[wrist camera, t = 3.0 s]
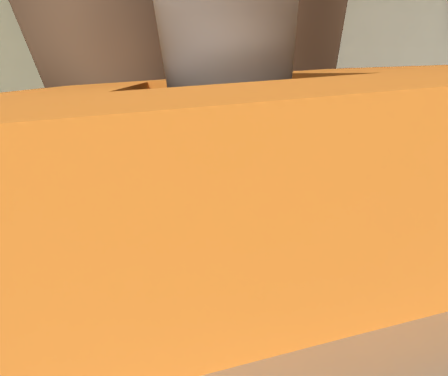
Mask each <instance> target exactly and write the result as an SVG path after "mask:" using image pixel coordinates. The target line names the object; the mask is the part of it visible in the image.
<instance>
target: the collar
mask: <svg viewBox="0 0 448 376" xmlns="http://www.w3.org/2000/svg"><path fill="white" fill-rule="evenodd" d="M444 312H448V65H432V66H403V67H373V68H343V69H319V70H303V71H293V73H292V79H283V80H269V81H255V82H240V83H226V84H211V85H197V86H183V87H168V88H167V83H166V79H163V80H148V81H132V82H117V83H101V84H85V85H70V86H60V87H50V88H41V89H31V90H22V91H12V92H3V93H0V376H202V375H206V374H210V373H213V372H217V371H221V370H225V369H229V368H232V367H236V366H240V365H244V364H248V363H251V362H255V361H259V360H263V359H267V358H270V357H274V356H278V355H282V354H286V353H290V352H293V351H297V350H301V349H305V348H309V347H313V346H316V345H320V344H324V343H328V342H332V341H336V340H339V339H343V338H347V337H351V336H355V335H359V334H363V333H367V332H370V331H374V330H378V329H382V328H386V327H390V326H394V325H398V324H401V323H405V322H409V321H413V320H417V319H421V318H425V317H429V316H432V315H436V314H440V313H444Z"/></svg>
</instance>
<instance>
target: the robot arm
mask: <svg viewBox="0 0 448 376" xmlns="http://www.w3.org/2000/svg"><path fill="white" fill-rule="evenodd" d="M202 376H448V312H444V313H440V314H436V315H432V316H429V317H425V318H421V319H417V320H413V321H409V322H405V323H401V324H398V325H394V326H390V327H386V328H382V329H378V330H374V331H370V332H367V333H363V334H359V335H355V336H351V337H347V338H343V339H339V340H336V341H332V342H328V343H324V344H320V345H316V346H313V347H309V348H305V349H301V350H297V351H293V352H290V353H286V354H282V355H278V356H274V357H270V358H267V359H263V360H259V361H255V362H251V363H248V364H244V365H240V366H236V367H232V368H229V369H225V370H221V371H217V372H213V373H210V374H206V375H202Z"/></svg>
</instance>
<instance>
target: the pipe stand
mask: <svg viewBox="0 0 448 376" xmlns="http://www.w3.org/2000/svg"><path fill="white" fill-rule="evenodd" d="M347 1H348V0H9V2H10V5H11V7H12V9H13V12H14V14H15V17H16V19H17V22H18V24H19V26H20V29H21V31H22V34H23V36H24V38H25V41H26V43H27V46H28V48H29V50H30V53H31V55H32V58H33V60H34V62H35V65H36V67H37V70H38V72H39V75H40V77H41V79H42V82H43V84H44V87H45V88H50V87H60V86H70V85H85V84H101V83H117V82H132V81H148V80H163V79H166V83H167V88H168V87H183V86H197V85H211V84H226V83H240V82H255V81H269V80H283V79H292V73H293V71H303V70H319V69H336V65H337V59H338V53H339V48H340V42H341V36H342V30H343V24H344V19H345V13H346V7H347Z"/></svg>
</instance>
